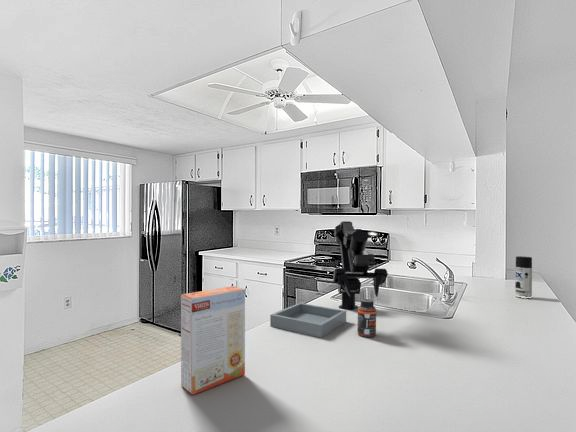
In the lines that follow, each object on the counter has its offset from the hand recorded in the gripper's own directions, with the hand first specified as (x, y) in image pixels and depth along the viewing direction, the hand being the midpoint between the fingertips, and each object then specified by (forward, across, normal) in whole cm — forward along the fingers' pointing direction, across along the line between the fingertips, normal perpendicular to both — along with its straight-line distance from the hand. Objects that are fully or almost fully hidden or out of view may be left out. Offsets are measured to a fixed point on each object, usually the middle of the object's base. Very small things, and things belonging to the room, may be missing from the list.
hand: (363, 296), depth 114 cm
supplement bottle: (+12, 0, +5) cm, 13 cm away
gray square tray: (+4, -18, +12) cm, 22 cm away
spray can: (-27, +90, +43) cm, 104 cm away
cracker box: (+34, -43, -17) cm, 58 cm away
